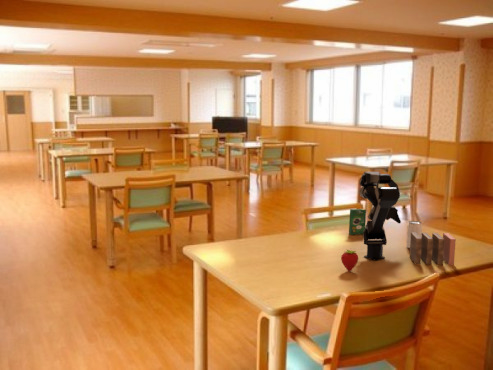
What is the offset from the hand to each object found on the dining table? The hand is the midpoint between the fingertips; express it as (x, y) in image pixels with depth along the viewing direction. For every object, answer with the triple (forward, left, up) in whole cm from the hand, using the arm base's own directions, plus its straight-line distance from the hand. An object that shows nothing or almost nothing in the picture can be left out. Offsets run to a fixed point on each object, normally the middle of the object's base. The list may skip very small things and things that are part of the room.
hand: (400, 222), depth 221 cm
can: (+12, +1, -14) cm, 18 cm away
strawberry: (-37, -5, -14) cm, 40 cm away
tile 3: (+3, -17, -14) cm, 22 cm away
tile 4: (+6, -20, -14) cm, 25 cm away
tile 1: (-4, -12, -14) cm, 18 cm away
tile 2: (-1, -14, -14) cm, 20 cm away
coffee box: (+9, +33, -14) cm, 37 cm away
